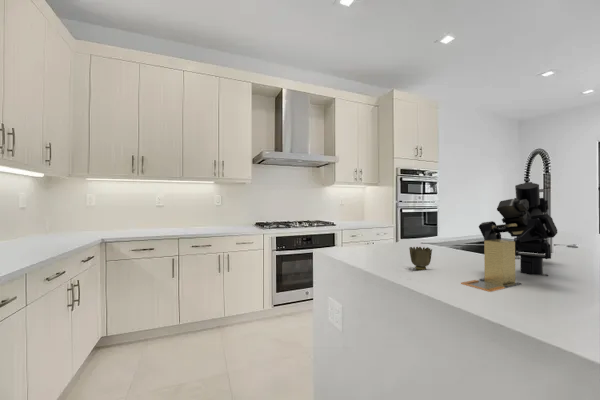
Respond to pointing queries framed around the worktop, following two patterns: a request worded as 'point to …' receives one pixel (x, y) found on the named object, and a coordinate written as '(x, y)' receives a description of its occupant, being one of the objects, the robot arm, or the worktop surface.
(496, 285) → the silver flat plate
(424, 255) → the cup
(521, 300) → the worktop surface
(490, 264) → the brass block
